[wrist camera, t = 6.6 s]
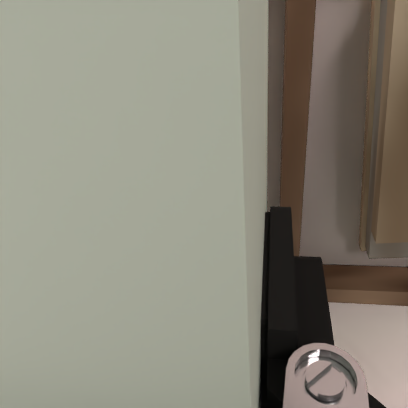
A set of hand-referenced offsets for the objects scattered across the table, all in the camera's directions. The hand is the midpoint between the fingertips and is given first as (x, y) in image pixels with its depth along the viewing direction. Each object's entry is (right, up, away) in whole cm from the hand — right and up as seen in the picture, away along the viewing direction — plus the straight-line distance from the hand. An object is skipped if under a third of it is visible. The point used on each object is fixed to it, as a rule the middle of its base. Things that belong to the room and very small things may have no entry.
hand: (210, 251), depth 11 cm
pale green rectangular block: (0, +2, +2) cm, 3 cm away
